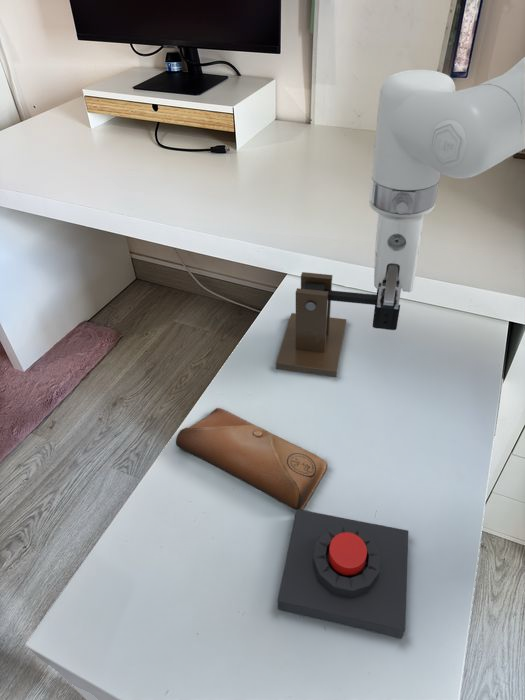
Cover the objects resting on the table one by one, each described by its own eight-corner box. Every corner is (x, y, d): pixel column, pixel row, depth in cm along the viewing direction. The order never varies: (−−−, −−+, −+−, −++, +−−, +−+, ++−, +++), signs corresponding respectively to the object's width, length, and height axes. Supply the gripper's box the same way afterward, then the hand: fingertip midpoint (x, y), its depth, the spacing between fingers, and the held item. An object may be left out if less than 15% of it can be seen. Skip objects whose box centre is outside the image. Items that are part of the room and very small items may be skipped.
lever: (391, 297, 72) (393, 283, 70) (389, 319, 68) (391, 305, 67) (307, 289, 74) (307, 275, 73) (301, 310, 71) (301, 296, 69)
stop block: (405, 540, 55) (411, 521, 52) (401, 639, 48) (408, 623, 45) (296, 518, 57) (296, 499, 54) (277, 609, 50) (276, 593, 47)
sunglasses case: (332, 459, 62) (321, 451, 56) (308, 513, 61) (295, 511, 55) (214, 405, 69) (193, 393, 64) (191, 452, 68) (167, 444, 62)
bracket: (346, 324, 82) (351, 262, 74) (336, 377, 73) (341, 313, 65) (291, 318, 83) (291, 257, 75) (275, 368, 75) (273, 305, 67)
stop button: (366, 544, 51) (368, 536, 50) (363, 579, 48) (365, 571, 47) (331, 537, 52) (332, 528, 50) (326, 571, 49) (326, 563, 48)
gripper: (437, 230, 52) (411, 359, 64) (436, 164, 64) (414, 282, 76) (363, 225, 53) (351, 351, 66) (376, 161, 66) (364, 278, 78)
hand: (385, 313), depth 71 cm, fingers closed on lever, 5 cm apart
